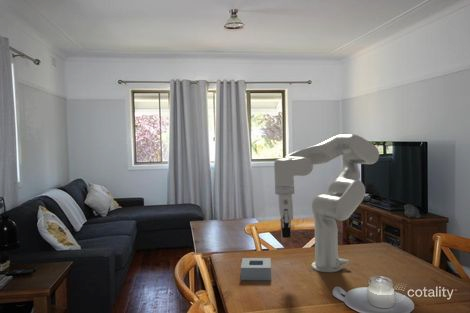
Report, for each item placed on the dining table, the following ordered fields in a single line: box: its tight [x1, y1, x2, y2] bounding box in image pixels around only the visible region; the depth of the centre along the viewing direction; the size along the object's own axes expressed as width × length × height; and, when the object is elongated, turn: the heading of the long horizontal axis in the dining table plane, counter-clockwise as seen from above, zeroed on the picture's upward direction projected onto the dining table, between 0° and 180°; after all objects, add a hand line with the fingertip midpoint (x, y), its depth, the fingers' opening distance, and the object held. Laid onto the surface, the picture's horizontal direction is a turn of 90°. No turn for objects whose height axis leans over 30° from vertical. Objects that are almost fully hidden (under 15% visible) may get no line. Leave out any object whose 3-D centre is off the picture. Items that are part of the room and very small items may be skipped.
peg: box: [280, 217, 292, 246], centre depth 152 cm, size 4×4×10 cm
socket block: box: [240, 257, 272, 281], centre depth 159 cm, size 12×12×5 cm
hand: (286, 235), depth 152 cm, fingers closed on peg, 4 cm apart
